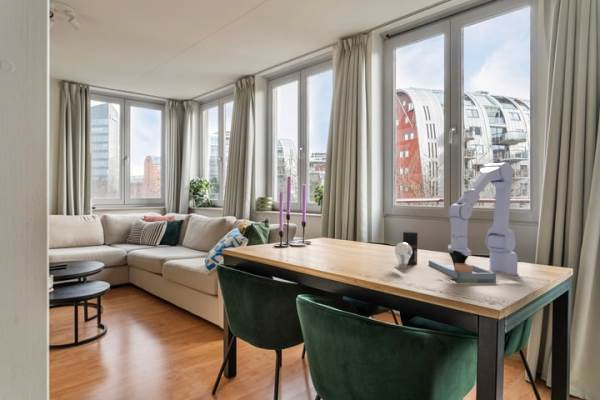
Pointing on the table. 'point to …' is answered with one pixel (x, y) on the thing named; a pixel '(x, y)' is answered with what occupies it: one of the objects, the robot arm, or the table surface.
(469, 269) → the block
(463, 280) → the trap box
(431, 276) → the table surface
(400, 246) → the light bulb
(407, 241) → the dark brown rectangular block
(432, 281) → the table surface
